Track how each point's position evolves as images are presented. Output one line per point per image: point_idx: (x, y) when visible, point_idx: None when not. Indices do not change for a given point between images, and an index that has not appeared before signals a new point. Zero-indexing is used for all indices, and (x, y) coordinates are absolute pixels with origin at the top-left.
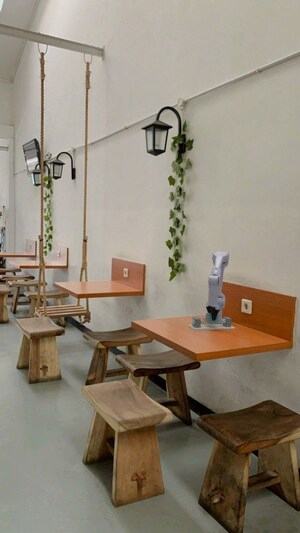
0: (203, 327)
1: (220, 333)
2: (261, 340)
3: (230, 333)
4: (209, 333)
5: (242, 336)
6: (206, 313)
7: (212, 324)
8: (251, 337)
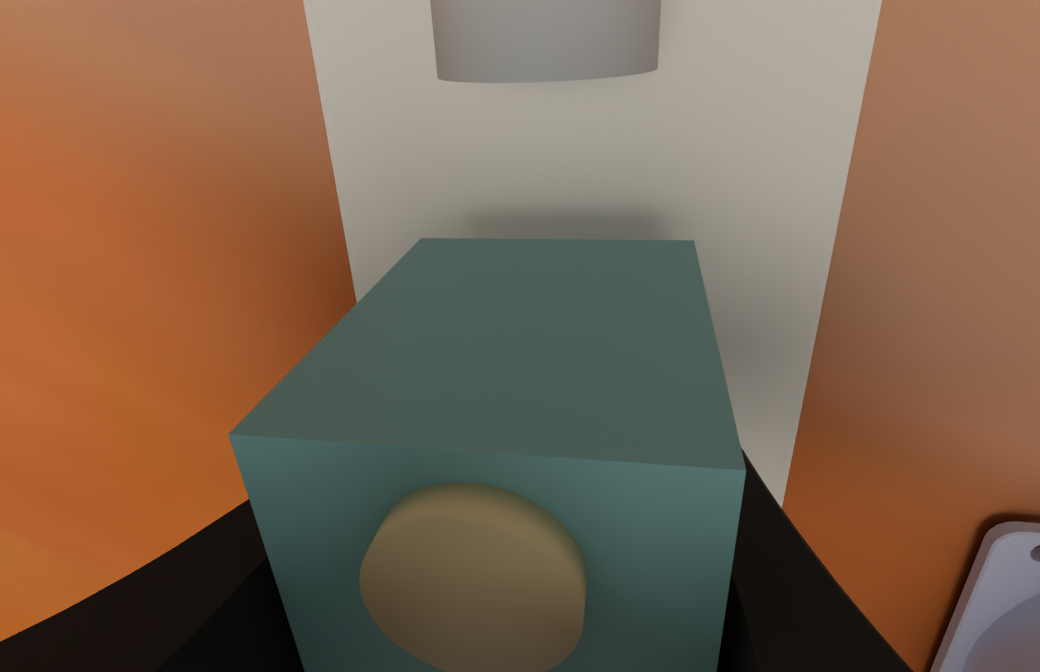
0: (431, 27)
1: (101, 317)
2: None
3: (153, 491)
4: (19, 43)
5: (21, 564)
6: (625, 456)
7: (769, 456)
8: (11, 634)
